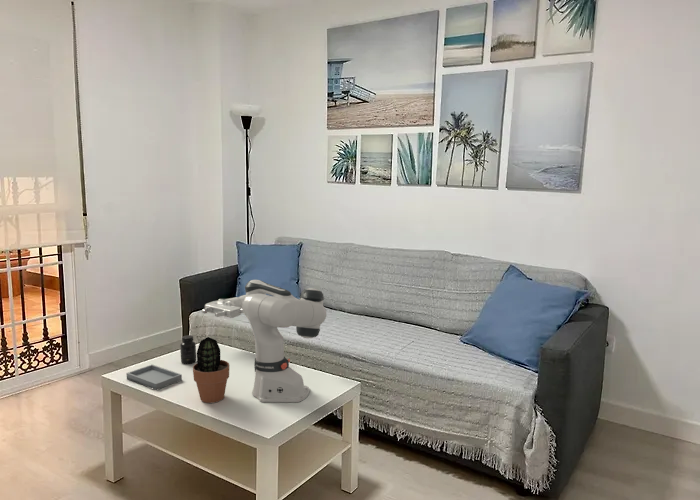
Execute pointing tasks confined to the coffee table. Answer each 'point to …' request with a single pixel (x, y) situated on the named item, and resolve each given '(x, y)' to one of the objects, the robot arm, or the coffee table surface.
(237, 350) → the coffee table surface
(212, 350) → the potted plant
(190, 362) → the supplement bottle
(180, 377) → the grey serving tray
